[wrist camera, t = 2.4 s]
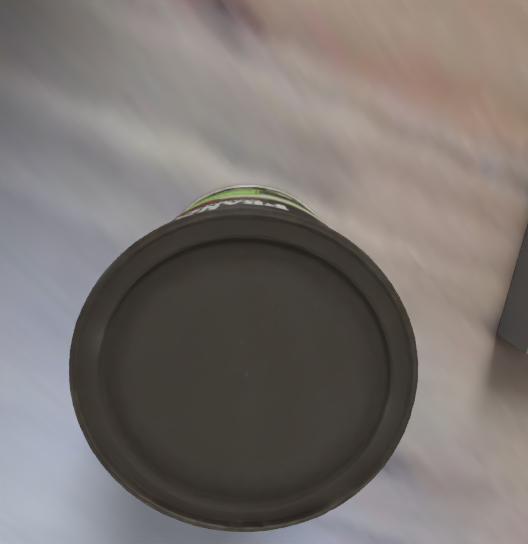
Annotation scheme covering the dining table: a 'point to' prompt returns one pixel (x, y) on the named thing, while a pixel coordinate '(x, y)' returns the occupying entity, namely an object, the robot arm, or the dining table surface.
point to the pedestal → (517, 304)
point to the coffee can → (243, 365)
